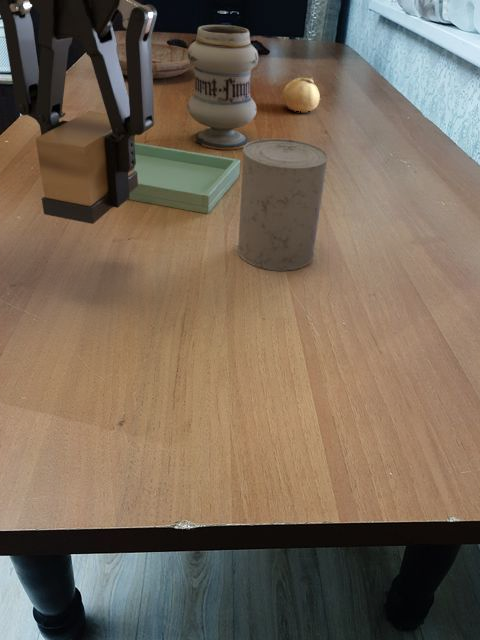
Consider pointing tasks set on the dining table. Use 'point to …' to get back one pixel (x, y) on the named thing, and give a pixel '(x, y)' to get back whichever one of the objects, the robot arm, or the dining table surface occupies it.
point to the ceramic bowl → (160, 60)
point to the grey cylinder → (280, 203)
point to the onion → (301, 95)
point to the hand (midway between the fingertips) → (93, 196)
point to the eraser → (77, 169)
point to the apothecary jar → (222, 85)
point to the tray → (182, 177)
